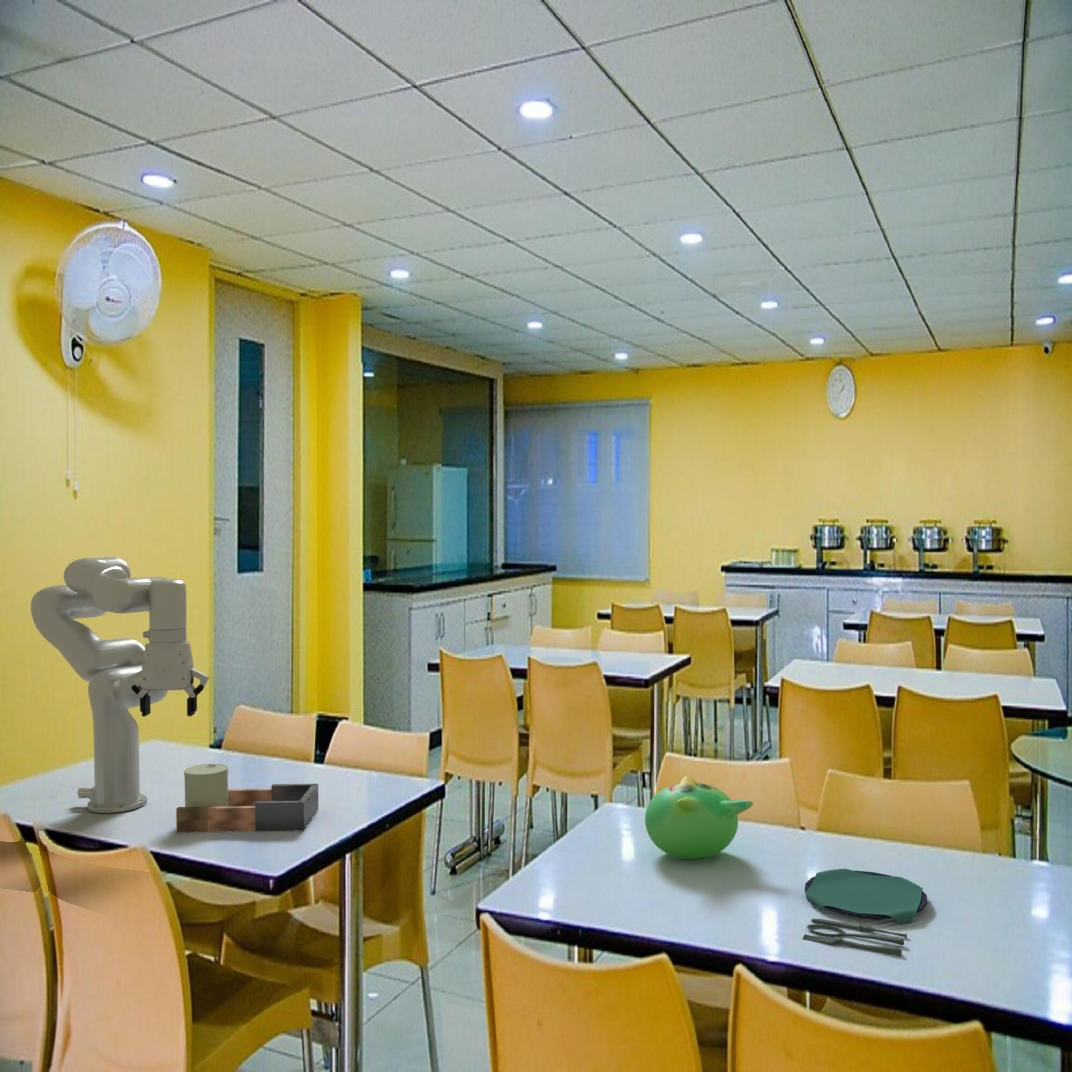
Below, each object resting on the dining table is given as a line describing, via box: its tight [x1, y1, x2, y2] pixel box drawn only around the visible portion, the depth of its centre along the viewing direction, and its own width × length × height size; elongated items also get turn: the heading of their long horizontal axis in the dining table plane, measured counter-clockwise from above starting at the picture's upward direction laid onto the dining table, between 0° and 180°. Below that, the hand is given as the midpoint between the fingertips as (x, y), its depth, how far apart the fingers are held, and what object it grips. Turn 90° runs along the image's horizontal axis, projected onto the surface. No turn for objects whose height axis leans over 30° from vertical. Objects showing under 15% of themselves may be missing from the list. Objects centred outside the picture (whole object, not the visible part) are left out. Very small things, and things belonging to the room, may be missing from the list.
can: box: [183, 763, 229, 807], centre depth 209 cm, size 9×9×12 cm
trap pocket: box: [255, 783, 320, 832], centre depth 210 cm, size 10×14×6 cm
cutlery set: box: [802, 868, 928, 957], centre depth 159 cm, size 20×30×2 cm, turn 153°
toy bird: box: [644, 775, 754, 860], centre depth 185 cm, size 18×17×15 cm
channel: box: [175, 788, 272, 833], centre depth 209 cm, size 16×14×5 cm
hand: (168, 715), depth 209 cm, fingers open, 9 cm apart
